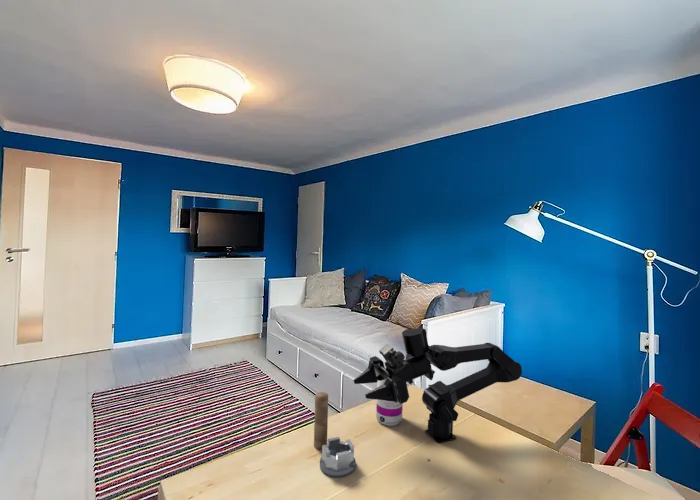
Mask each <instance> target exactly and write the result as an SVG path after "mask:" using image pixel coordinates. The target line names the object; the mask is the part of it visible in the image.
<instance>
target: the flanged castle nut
mask: <svg viewBox="0 0 700 500" xmlns="http://www.w3.org/2000/svg"><path fill="white" fill-rule="evenodd" d="M319 468H320V469H319V470H320V471H321V472H322V473H323V474H324V475H326V476H328V477H331V478H338V479H339V478H344V477H347V476H349V475H351V474H352V473H353V472H354V471H355V470H356V457H355V445H354V444H353V443H352V441H351V440H350V439H346V440H345V441H342V440H341V438H340V436H335V437H331V438H327V444H326V445H322V449H321V457H320V460H319Z"/></svg>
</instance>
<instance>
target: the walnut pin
mask: <svg viewBox="0 0 700 500" xmlns="http://www.w3.org/2000/svg"><path fill="white" fill-rule="evenodd" d="M328 418H329V394H328V393H327V392H321V391H320V392H317V393H316V394H315V395H314V422H313V423H314V425H313V427H314V429H313V430H314V431H313V447H314V448H315V449H317V450H322V445H326V444H327V442H328V421H329V419H328Z"/></svg>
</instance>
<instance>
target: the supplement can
mask: <svg viewBox="0 0 700 500" xmlns="http://www.w3.org/2000/svg"><path fill="white" fill-rule="evenodd" d="M385 381H386V380H385V379H384V380H381V381H378V382H376V388H377V387H379V386H381V385H383V384H384V383H385ZM403 404H404V403H403ZM403 404H400V403H399V402H398V401H397V403H395V402H393V401H386V400H377V399H376V408H375V409H376V411H375V417H376V420H377V421H378V422H379V423H380V424H381V425H384V426H387V427H391V426H396V425H399V424H400V423H401V422H402V420H403V411H404V410H403V406H404V405H403Z"/></svg>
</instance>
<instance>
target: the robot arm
mask: <svg viewBox="0 0 700 500" xmlns="http://www.w3.org/2000/svg"><path fill="white" fill-rule="evenodd" d="M401 336H402V340H403V344H404V345H403V346H404V351H405V353H406V354H407V355H409V356H411V357H408V358H406V356H405V355H404V353H403V352H402V351H400V350H398V351H396V349H395V348H394V347H392V346H391V345H390V344H388V343H386V345H384V346H383V347H382V348H381V349H379V351H378V352H379V354H380V355H382V357H383V359H384V360H385V361H383V360H382V359H381V358H380V357H378V356H376V355H373V356H372V357H370V358H369V361H368V365H367V368H366V369H365V370H364V371H363V372H362V373H360V374H359V375H358V376H357V377H355V378H354V379H353V384H355V385H362V384H373V383H376V384H377V382H378V381H381V380H384V379H385V380H386V381H385V383H384V384H383V385H381V386H379V387H377V386H376V388H373V389H372V390H369V391H368V392H367V393H365V394H364V396H365V399H367V400H376V401H377V400H386V401H393V402H395V403H397V401H398V402H399V403H400V404H405V403H407V402H408V400H409V399H410V394H409V389H408V384H409V385H411V384H414V380H415V379H418V378H420V377H422V376H424V377H426V378H427V379H429V380H430V381H433V379H434V375H435V373H436V371H435V370H434V369H432V366H433V367H435V368H436V369H438V370H439V371H442V372H443V371H444V372H445V371H449V370H451V369H454V368H456V367H457V366H458V365H460V364H462V363H463V364H464V363H469V362H476V361H477V362H478V361H485V360H486V361H488V364H487V366H486V367H485V368H482V369H481V370H477V371H476V372H474V373H472V374H469V375H468V376H465V377H463V378H460V379H458V380H456V381H455V382H453V383H451V384H445V383H444V382H442V381H441V380H438V381H436V382H435V383H434V382H433V384H428V386H427V387H426V388H425V389H424V390H423V393H422V395H421V396H422V397H421V401H422V403H423V404H424V405H425V407H426V410H428V411H429V412H430V413H428V414H429V416H428V419H427V429H425V430H424V431H425V433H426V434H427V435H428V436H430V438H432V439H433V440H434V441H435V442H436V443H437V444H440V443H441V444H442V443H444V442H446V443H447V442H448V441H450V442H451V441H453V440H456V439H457V436H456V435H455V434H453V432H454V422H456V421H457V420H458V417H459V413H458V411H457V410H456V409H455V407H456V405H457V403H458V402H459V401H461V400H463V399H465V398H467V397H469V396H471V395H474V394H476V393H478V392H480V391H483V390H484V389H486V388H487V387H488V388H489V387H490V386H492V385H494V384H497V383H511V382H514V381H517V380H519V379H520V378H521V375H522V373H523V370H522V365H521V364H520V362H517V361H516V360H514V359H513V358H512V357H510V356H509V355H508V354H507V353H505V352H504V351H503V350H502V348H501V347H500V346H498V345H496V344H494V343H492V342H485V343H479V344H472V345H464V346H463V345H462V346H457V347H456V346H453V347H452V346H448V345H441V344H431V345H429V343H428V342H429V340H428V338H427V329H425V328H423V327H420V328H419V327H417V328H416V327H415V328H407V329H404V330H403V331H402V332H401ZM405 358H406V359H405ZM407 383H408V384H407Z"/></svg>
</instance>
